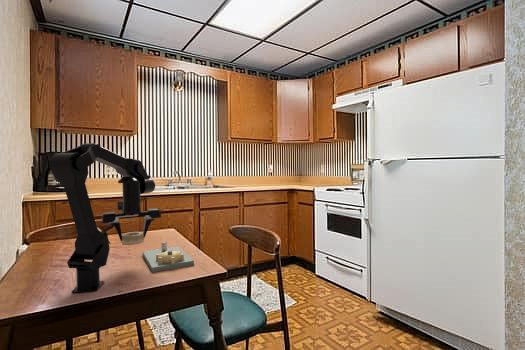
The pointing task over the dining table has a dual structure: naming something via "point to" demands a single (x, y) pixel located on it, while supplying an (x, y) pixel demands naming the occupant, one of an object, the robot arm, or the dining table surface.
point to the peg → (163, 247)
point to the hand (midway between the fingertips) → (132, 239)
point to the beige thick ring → (132, 238)
